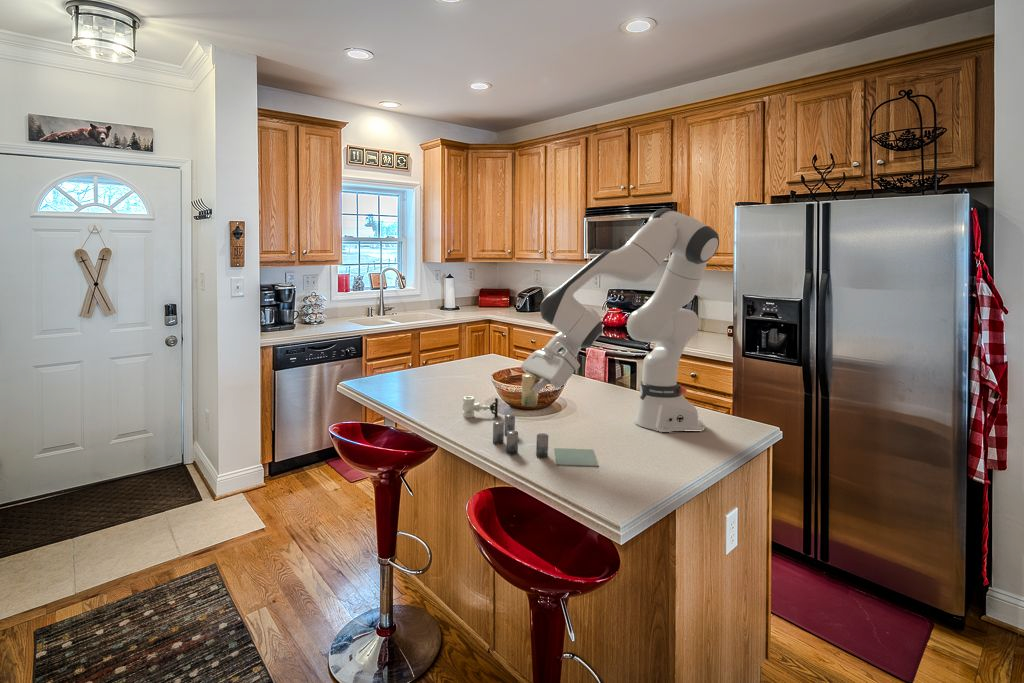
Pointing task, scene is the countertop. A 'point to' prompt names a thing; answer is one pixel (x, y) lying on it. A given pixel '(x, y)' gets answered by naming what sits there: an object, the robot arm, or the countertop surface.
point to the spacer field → (516, 437)
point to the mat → (575, 457)
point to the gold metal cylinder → (527, 395)
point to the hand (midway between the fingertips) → (527, 389)
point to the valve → (477, 407)
